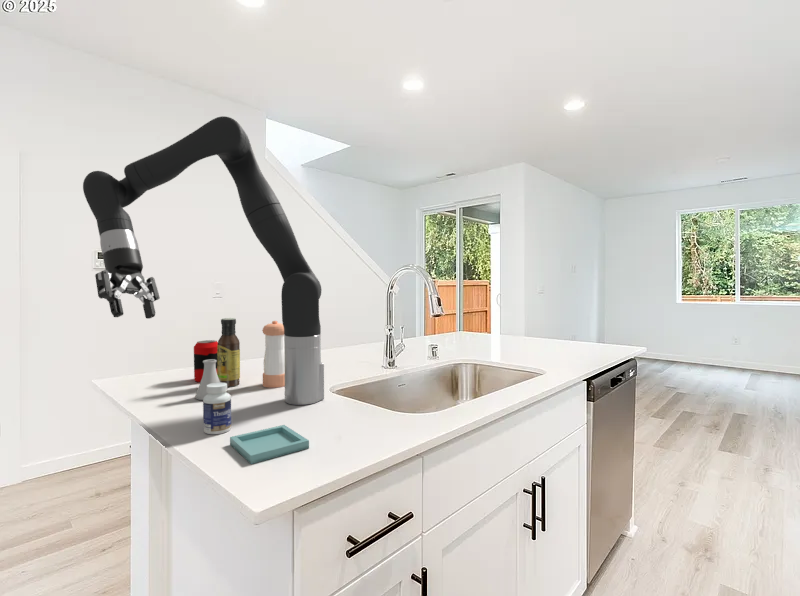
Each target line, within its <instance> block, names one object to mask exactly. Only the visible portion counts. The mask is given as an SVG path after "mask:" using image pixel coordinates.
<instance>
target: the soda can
mask: <svg viewBox="0 0 800 596" xmlns="http://www.w3.org/2000/svg"><path fill="white" fill-rule="evenodd" d="M217 345H218V340H215V339H212V340H210V339H209V340H200V341H197V342H196V343H195V344H194V346H193V367H194V368H193V375H194V376H193V380H194V381H195V382H196V383H200V382H201V379H202V376H203V372H204V363H203V361H204V360H209V359H215V360H217ZM216 372H217V362H216Z"/></svg>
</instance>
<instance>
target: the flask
mask: <svg viewBox="0 0 800 596" xmlns="http://www.w3.org/2000/svg"><path fill="white" fill-rule="evenodd" d="M216 362H217V360H215V359H209V360H204V361H203V363H204V372H203V376H202V379H201V382H199V384H198V388H197V391H196V393H195V396H194V399H196V400H199V401H203V398H204V397H205V396H206V395H207V394H208V393H207V391H206V390H207V385H208V384H211V383H218V382H220V380H219V378H218V375H217V372H216Z"/></svg>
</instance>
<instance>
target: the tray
mask: <svg viewBox="0 0 800 596" xmlns="http://www.w3.org/2000/svg"><path fill="white" fill-rule="evenodd" d="M229 445H230V446H231V447H232V448H233V449H234V450H235V451H236V452H237V453H238V454H239V455H240V456H241V457H242V458H244V459H245V460H246V461H247V462H248V463H249V464H250V465H252V464H253V465H254V464H257V463H261V462H264V461H268V460H271V459H275V458H279V457H282V456H285V455H286V456H287V455H289V454H290V455H291V454H293V453H296V452H299V451H301V452H302V451H305V450H308V449H310V440H309V439H308V438H306V437H305V436H303V435H302V434H300V433H298V432H296V431H295V430H294V429H292V428H290V427H289V426H287V425H285V424H281V425H277V426H274V427H268V428H264V429H260V430H256V431H250V432H246V433H242V434H238V435H234V436H229Z"/></svg>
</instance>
